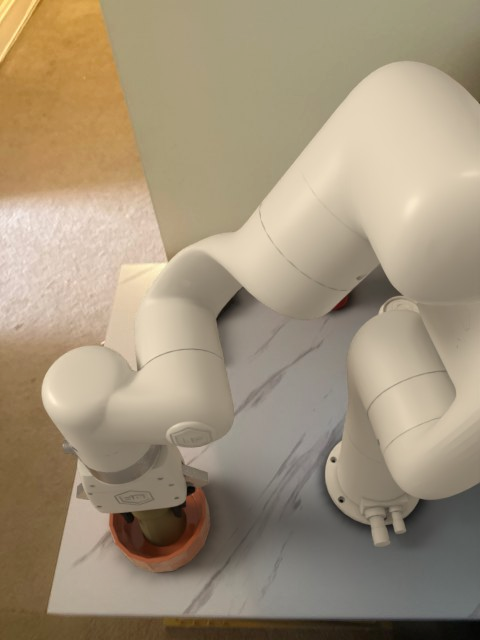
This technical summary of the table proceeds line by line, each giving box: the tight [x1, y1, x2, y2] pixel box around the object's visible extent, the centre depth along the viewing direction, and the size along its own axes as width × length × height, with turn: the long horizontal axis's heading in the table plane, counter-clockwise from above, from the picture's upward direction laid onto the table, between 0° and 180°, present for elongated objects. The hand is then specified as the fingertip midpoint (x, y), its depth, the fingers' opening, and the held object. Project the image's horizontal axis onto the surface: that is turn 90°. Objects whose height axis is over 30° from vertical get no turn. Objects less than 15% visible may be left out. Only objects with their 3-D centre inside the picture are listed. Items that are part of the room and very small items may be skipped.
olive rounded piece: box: [132, 507, 187, 547], centre depth 69 cm, size 6×6×11 cm
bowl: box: [108, 487, 211, 574], centre depth 72 cm, size 12×12×5 cm
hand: (154, 507), depth 69 cm, fingers closed on olive rounded piece, 5 cm apart
